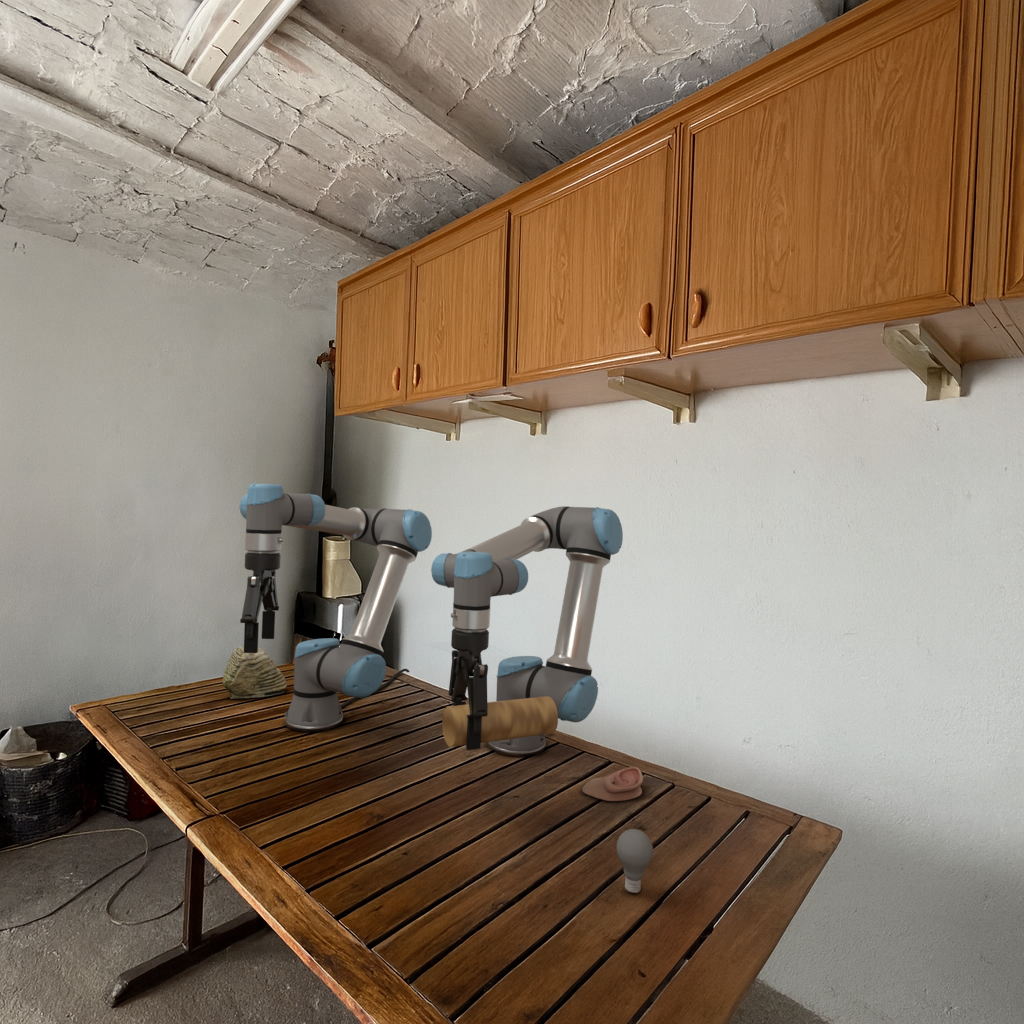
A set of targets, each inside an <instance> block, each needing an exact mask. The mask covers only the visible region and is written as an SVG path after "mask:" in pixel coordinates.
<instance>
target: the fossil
mask: <svg viewBox="0 0 1024 1024" xmlns="http://www.w3.org/2000/svg"><path fill="white" fill-rule="evenodd" d="M222 676H223V677H222V685H223V687H224V688H225V690H226V691H228V693H229V698H230V699H250V698H264V697H271V696H275V695H281V694H284V693H285V691H286V689H287V687H288V686H287V680H286V678H285V676H284V674H283V673H282V672H281V669H279V668H278V667H277V665H276V663H275V662H274V660H273V659H272V658H271V657H270V656H269V655H268V654H267V653H266V652H265V650H264V649H263V648H260V647H258V652H257V653H244V646H238V647H237V648H236V649H235V650H233V651H232V653H231V656H230V657H229V659H228V660H227V663H226V666H225V668H224V671H223V675H222Z"/></svg>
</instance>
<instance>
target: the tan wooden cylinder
mask: <svg viewBox="0 0 1024 1024" xmlns="http://www.w3.org/2000/svg"><path fill="white" fill-rule="evenodd" d="M487 707H488V715H487V716H484V717H482V725H481V744H484V743H488V742H492V741H500V740H507V739H515V738H522V737H530V736H537V735H545V736H546V735H552V734H554V733H555V732H556V731H557V728H558V725H559V718H558V713H557V708H556V705H555V703H554V701H553V699H552V698H551V697H549V696H544V697H534V698H525V699H515V700H506V701H496V700H495V701H487ZM442 712H443V713H442V719H441V721H442V723H441V724H442V726H441V727H442V734H443V738H444V739H443V740H444V741H445V743H446V745H447V747H449V748H454V747H461V746H466V743H467V721H468V718H467V716H466V715H470V710H469V703H468V704H467V703H466V705H457V706H453V705H450V706H449V705H448V706H445V708H444V710H443V711H442Z"/></svg>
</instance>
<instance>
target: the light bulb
mask: <svg viewBox="0 0 1024 1024" xmlns="http://www.w3.org/2000/svg"><path fill="white" fill-rule="evenodd" d="M615 849H616V854H617V857H618V859H619V861H620V863H621V865H622V867H623V873H624V874H623V875H624V876H625V878H624V888H625V890H627V891H628V892H630V893H634V894H635V893H639V892H640V891H641V889H642V887H641V886H642V879H643V877H644V875H645V871H646V868H647V867H648V866H649V864H650V863H651V861H652V859H653V855H654V847H653V843H652V841H651V838H649V836H648V835H647V834H646V833H645V832H643V831H642V830H641V829H636V828H629V829H627V830H625V831H623V832H622V833H621V834H620V835H619V837H618V839H617V841H616V847H615Z"/></svg>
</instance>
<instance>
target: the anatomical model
mask: <svg viewBox="0 0 1024 1024" xmlns="http://www.w3.org/2000/svg"><path fill="white" fill-rule="evenodd" d="M643 782H644V775H643V773H642V771H641V770H640V769H639V768H638V767H637V766H630V767H625V768H623V769H620V770H617V771H615V772H613V773H610V774H608V775H605V776H604V777H596V778H595V777H594V778H592V779H590V780H588V781H587V782H586V783H585V784H584V785H583V786H582V788H581V792H582V793H583V794H585V795H587V796H590V797H593V798H595V799H598V800H602V801H606V802H619V801H621V802H622V801H628V800H633V799H635V798H638V797H640V796H641V795H642V793H643V789H642V787H641V786H642V784H643Z"/></svg>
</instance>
